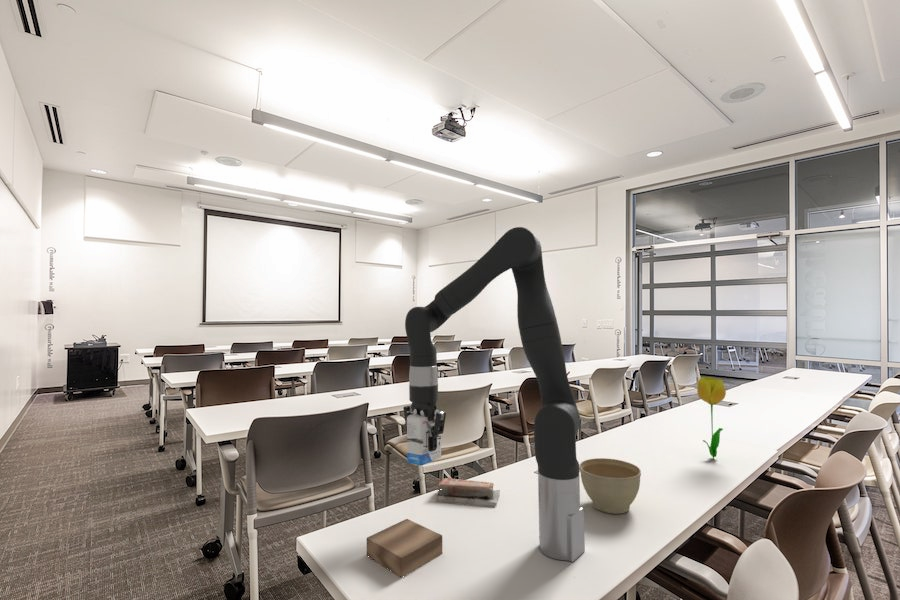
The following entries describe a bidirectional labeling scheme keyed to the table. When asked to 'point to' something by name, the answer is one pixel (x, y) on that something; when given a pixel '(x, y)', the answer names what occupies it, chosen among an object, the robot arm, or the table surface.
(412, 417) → the ink box
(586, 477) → the planter bowl
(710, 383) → the flower
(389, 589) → the table surface
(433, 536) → the walnut base
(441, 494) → the packaged product
